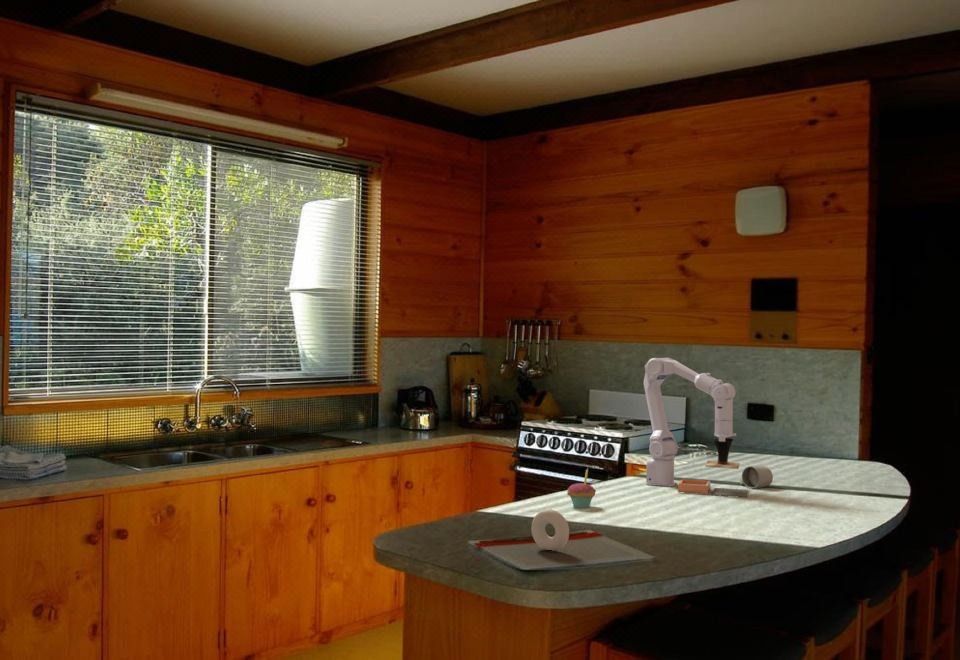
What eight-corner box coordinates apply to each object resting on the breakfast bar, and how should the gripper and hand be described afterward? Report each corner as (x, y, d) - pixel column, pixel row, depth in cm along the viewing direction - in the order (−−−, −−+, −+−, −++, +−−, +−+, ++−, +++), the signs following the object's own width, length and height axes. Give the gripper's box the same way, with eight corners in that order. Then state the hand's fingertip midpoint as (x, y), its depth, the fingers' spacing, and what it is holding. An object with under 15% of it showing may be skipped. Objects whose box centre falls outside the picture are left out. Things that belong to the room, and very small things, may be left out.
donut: (528, 549, 213) (528, 508, 213) (535, 546, 215) (536, 505, 215) (564, 555, 207) (565, 513, 207) (571, 552, 210) (572, 510, 210)
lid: (705, 466, 288) (705, 451, 288) (707, 462, 298) (708, 447, 298) (738, 468, 285) (738, 453, 285) (739, 464, 295) (740, 449, 295)
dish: (677, 492, 291) (678, 483, 291) (681, 488, 300) (681, 479, 300) (707, 494, 288) (707, 485, 288) (710, 489, 297) (710, 481, 297)
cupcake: (598, 505, 268) (599, 466, 268) (590, 510, 260) (590, 470, 260) (572, 503, 271) (572, 464, 271) (562, 508, 264) (563, 467, 264)
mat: (711, 495, 287) (711, 494, 287) (714, 488, 299) (714, 487, 299) (746, 497, 283) (746, 496, 283) (748, 491, 295) (748, 489, 295)
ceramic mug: (774, 488, 302) (774, 465, 302) (759, 490, 297) (759, 467, 297) (749, 484, 311) (749, 462, 311) (734, 486, 306) (733, 464, 306)
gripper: (734, 422, 283) (734, 464, 283) (737, 418, 297) (737, 458, 297) (712, 421, 286) (712, 463, 286) (715, 417, 299) (715, 457, 299)
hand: (723, 461), depth 291 cm, fingers closed on lid, 3 cm apart
